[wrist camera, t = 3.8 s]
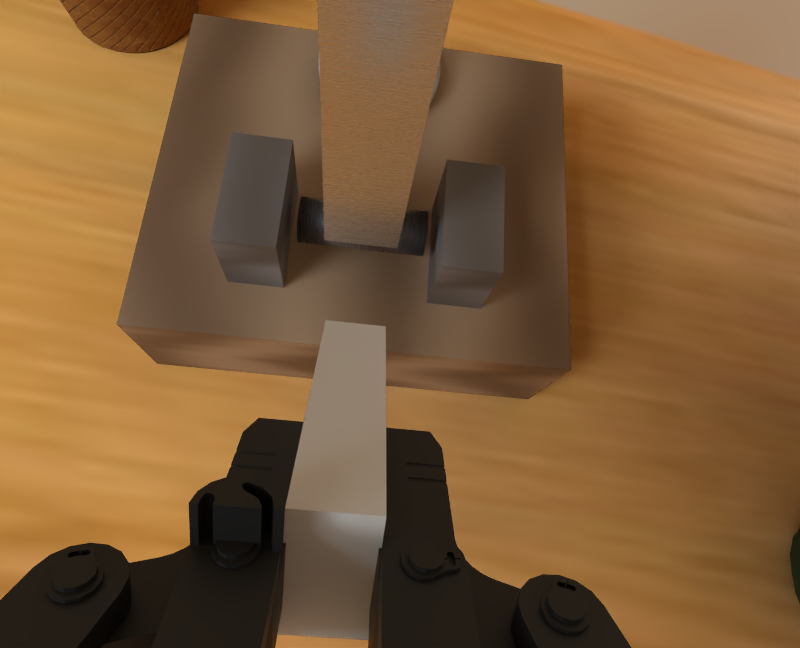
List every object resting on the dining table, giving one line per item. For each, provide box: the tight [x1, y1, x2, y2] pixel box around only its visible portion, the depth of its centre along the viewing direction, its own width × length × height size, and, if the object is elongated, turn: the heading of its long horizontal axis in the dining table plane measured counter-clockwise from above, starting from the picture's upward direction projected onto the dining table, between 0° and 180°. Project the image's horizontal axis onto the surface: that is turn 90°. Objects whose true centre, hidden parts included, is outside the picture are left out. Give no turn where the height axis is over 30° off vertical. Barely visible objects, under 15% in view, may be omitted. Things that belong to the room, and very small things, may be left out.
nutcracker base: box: [117, 13, 571, 399], centre depth 24 cm, size 16×14×8 cm
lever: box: [297, 0, 454, 256], centre depth 14 cm, size 4×4×17 cm
